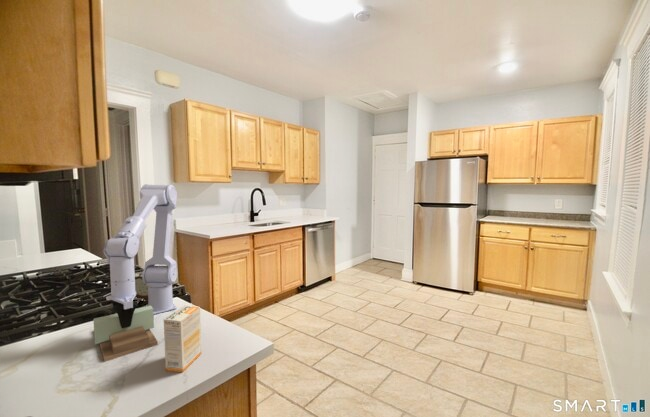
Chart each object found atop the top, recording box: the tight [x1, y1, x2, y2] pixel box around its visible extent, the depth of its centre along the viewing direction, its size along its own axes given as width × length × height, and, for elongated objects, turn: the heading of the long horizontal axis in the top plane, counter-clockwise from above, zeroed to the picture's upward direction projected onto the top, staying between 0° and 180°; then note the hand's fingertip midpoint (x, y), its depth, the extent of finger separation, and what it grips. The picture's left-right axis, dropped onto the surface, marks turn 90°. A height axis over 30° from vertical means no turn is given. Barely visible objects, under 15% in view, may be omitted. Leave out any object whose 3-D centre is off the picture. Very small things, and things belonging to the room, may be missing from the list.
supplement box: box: [163, 305, 202, 373], centre depth 75 cm, size 8×5×13 cm, turn 171°
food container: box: [135, 271, 149, 301], centre depth 114 cm, size 12×6×10 cm, turn 84°
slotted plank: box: [98, 326, 158, 362], centre depth 86 cm, size 20×12×3 cm, turn 42°
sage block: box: [93, 305, 155, 345], centre depth 86 cm, size 14×3×6 cm, turn 132°
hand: (125, 324), depth 86 cm, fingers closed on sage block, 3 cm apart
